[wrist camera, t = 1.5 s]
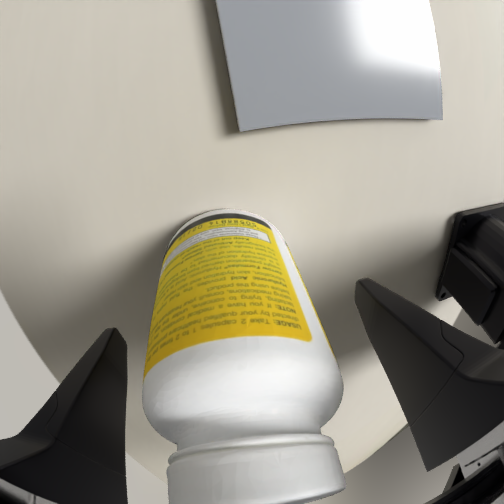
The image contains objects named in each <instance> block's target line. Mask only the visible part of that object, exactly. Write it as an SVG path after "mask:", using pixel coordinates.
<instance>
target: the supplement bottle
mask: <svg viewBox="0 0 504 504" xmlns="http://www.w3.org/2000/svg"><path fill="white" fill-rule="evenodd" d="M342 396H343V380H342V376H341V373H340V370H339V366H338V364H337V361H336V358H335V356H334V353H333V350H332V348H331V346H330V343H329V341H328V339H327V336H326V334H325V331H324V329H323V327H322V324H321V322H320V319H319V317H318V315H317V312H316V310H315V308H314V305H313V303H312V300H311V298H310V296H309V294H308V291H307V288H306V287H305V284H304V282H303V280H302V277H301V275H300V273H299V270H298V268H297V266H296V263H295V261H294V259H293V257H292V254H291V252H290V250H289V248H288V246H287V244H286V242H285V240H284V238H283V237H282V235H281V234H280V232H279V231H278V230H277V229H276V228H275V226H273V225H272V224H271V223H270V222H269V221H267V220H266V219H264V218H262V217H261V216H259V215H256V214H254V213H251V212H247V211H243V210H238V209H220V210H214V211H210V212H206V213H204V214H201V215H199V216H197V217H195V218H193V219H191V220H190V221H188V222H187V223H186V224H185V225H183V226H182V227H181V228H180V229H179V230H178V232H177V233H176V234H175V235H174V237H173V238H172V240H171V242H170V243H169V246H168V248H167V251H166V253H165V256H164V260H163V265H162V269H161V274H160V279H159V283H158V289H157V294H156V299H155V304H154V309H153V315H152V320H151V326H150V333H149V339H148V346H147V353H146V360H145V368H144V377H143V390H142V402H143V409H144V412H145V415H146V417H147V419H148V421H149V422H150V424H151V425H152V427H153V428H154V429H155V430H156V431H157V432H158V433H159V434H160V435H161V436H163V437H164V438H166V439H167V440H169V441H171V442H173V443H175V444H177V452H175V453H173V454H172V455H171V456H170V457H169V460H168V462H169V464H170V466H168V468H167V478H168V495H169V504H304V503H309V502H312V501H316V500H319V499H322V498H325V497H328V496H331V495H334V494H337V493H339V492H341V491H343V490H344V489H345V488H346V481H345V477H344V474H343V470H342V467H341V463H340V460H339V456H338V453H337V450H336V448H335V447H334V441H333V440H332V438H330V437H329V436H326V435H323V434H321V430H320V428H321V427H322V426H323V425H325V424H326V423H327V422H328V421H329V420H330V419H331V418H332V417H333V415H334V414H335V413H336V411H337V409H338V408H339V405H340V403H341V400H342Z"/></svg>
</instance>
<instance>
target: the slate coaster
mask: <svg viewBox="0 0 504 504" xmlns="http://www.w3.org/2000/svg"><path fill="white" fill-rule="evenodd" d="M215 2H216V7H217V13H218V18H219V23H220V29H221V34H222V40H223V45H224V51H225V56H226V61H227V67H228V72H229V78H230V84H231V89H232V95H233V100H234V106H235V111H236V117H237V123H238V128H239V131H240V132H242V131H248V130H254V129H260V128H266V127H273V126H281V125H289V124H297V123H307V122H317V121H329V120H345V119H369V118H410V119H433V120H443V110H442V86H441V73H440V63H439V54H438V47H437V40H436V34H435V29H434V23H433V18H432V14H431V9H430V5H429V1H428V0H215Z"/></svg>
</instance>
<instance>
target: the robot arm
mask: <svg viewBox="0 0 504 504" xmlns="http://www.w3.org/2000/svg"><path fill="white" fill-rule="evenodd" d="M452 296H453V297H454V299H455V300H456V301H457V302H458V303H459V305H460V306H461V307H462V308H463V309H464V311H465V312H466V313H467V314H468V315H469V317H470V318H471V319H472V321H473V322H474V323H475V324H476V325H477V326H479V325H480V326H481V327H482V328H483V329H484V331H485V332H486V333H487V335H488V336H489V337H490V339H491V340H492V341H493V343H494V344H496V343H498V342H499V341H501V342H500V344H499V345H498V346H497V347H496V348H495V347H492V346H491V345H488V344H486V343H484V342H482V341H480V340H478V339H476V338H474V337H472V336H470V335H468V334H466V333H464V332H462V331H460V330H458V329H456V328H455V327H453V326H451V325H449V324H448V323H446V322H444V321H443V320H440V319H439V318H437V317H436V316H434V315H432V314H431V313H429V312H427V311H425V310H424V309H422V308H420V307H419V306H417V305H415V304H413V303H412V302H410V301H408V300H406V299H405V298H403V297H401V296H399V295H398V294H396V293H394V292H392V291H391V290H389V289H387V288H385V287H383V286H382V285H380V284H378V283H376V282H375V281H373V280H371V279H369V278H363V279H359V280H357V282H356V289H355V302H356V305H357V308H358V310H359V313H360V316H361V318H362V321H363V324H364V326H365V329H366V332H367V334H368V337H369V339H370V341H371V343H372V345H373V347H374V349H375V351H376V353H377V355H378V357H379V360H380V362H381V364H382V366H383V368H384V370H385V372H386V374H387V376H388V379H389V381H390V383H391V385H392V387H393V390H394V392H395V394H396V396H397V398H398V401H399V403H400V405H401V408H402V410H403V412H404V415H405V417H406V419H407V422H408V424H409V426H410V429H411V432H412V434H413V437H414V439H415V441H416V444H417V447H418V449H419V452H420V454H421V457H422V460H423V462H424V465H425V468H426V470H427V472H428V471H430V470H432V469H434V468H436V467H437V466H439V465H441V464H442V463H444V462H446V461H448V460H449V459H451V458H453V457H454V456H456V457H457V459H458V462H459V463H458V464H457V465H455V466H454V467H453V469H452V472H451V474H450V477H449V479H448V482H447V484H446V486H445V488H444V491H443V493H442V494H440V495H439V496H437V497H436V498H434V499H432V500H430V501H428V502H427V503H425V504H504V203H502V204H497V205H492V206H488V207H483V208H478V209H474V210H469V211H464V212H461V213H459V214H458V215H457V217H456V218H455V222H454V227H453V231H452V236H451V240H450V244H449V248H448V252H447V256H446V260H445V264H444V267H443V271H442V274H441V278H440V281H439V284H438V287H437V290H436V293H435V297H436V298H437V299H438V300H439V301H442V300H445V299H447V298H449V297H452ZM126 398H127V344H126V341H125V340H124V338H123V337H122V335H121V334H120V332H119V331H118V329H116V328H108V329H106V330H105V331H104V332H103V333H102V334H101V335H100V337H99V338H98V339H97V340H96V341H95V342H94V344H93V345H92V346H91V347H90V348H89V350H88V351H87V352H86V353H85V354H84V356H83V357H82V358H81V359H80V360H79V362H78V363H77V364H76V365H75V367H74V368H73V369H72V370H71V371H70V373H69V374H68V375H67V376H66V378H65V379H64V380H63V381H62V383H61V384H60V385H59V387H58V388H57V389H56V391H55V392H54V393H53V394H52V396H51V397H50V398H49V399H48V401H47V402H46V403H45V404H44V406H43V407H42V408H41V409H40V410H39V411H38V413H37V414H36V415H35V416H34V417H33V418H32V419H31V421H30V422H29V423H28V424H27V425H26V426H25V428H24V429H23V430H22V431H21V432H20V433H19V434H17V435H16V436H14V437H11V438H7V439H2V440H0V504H128V500H127V485H126V466H125V421H126Z"/></svg>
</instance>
